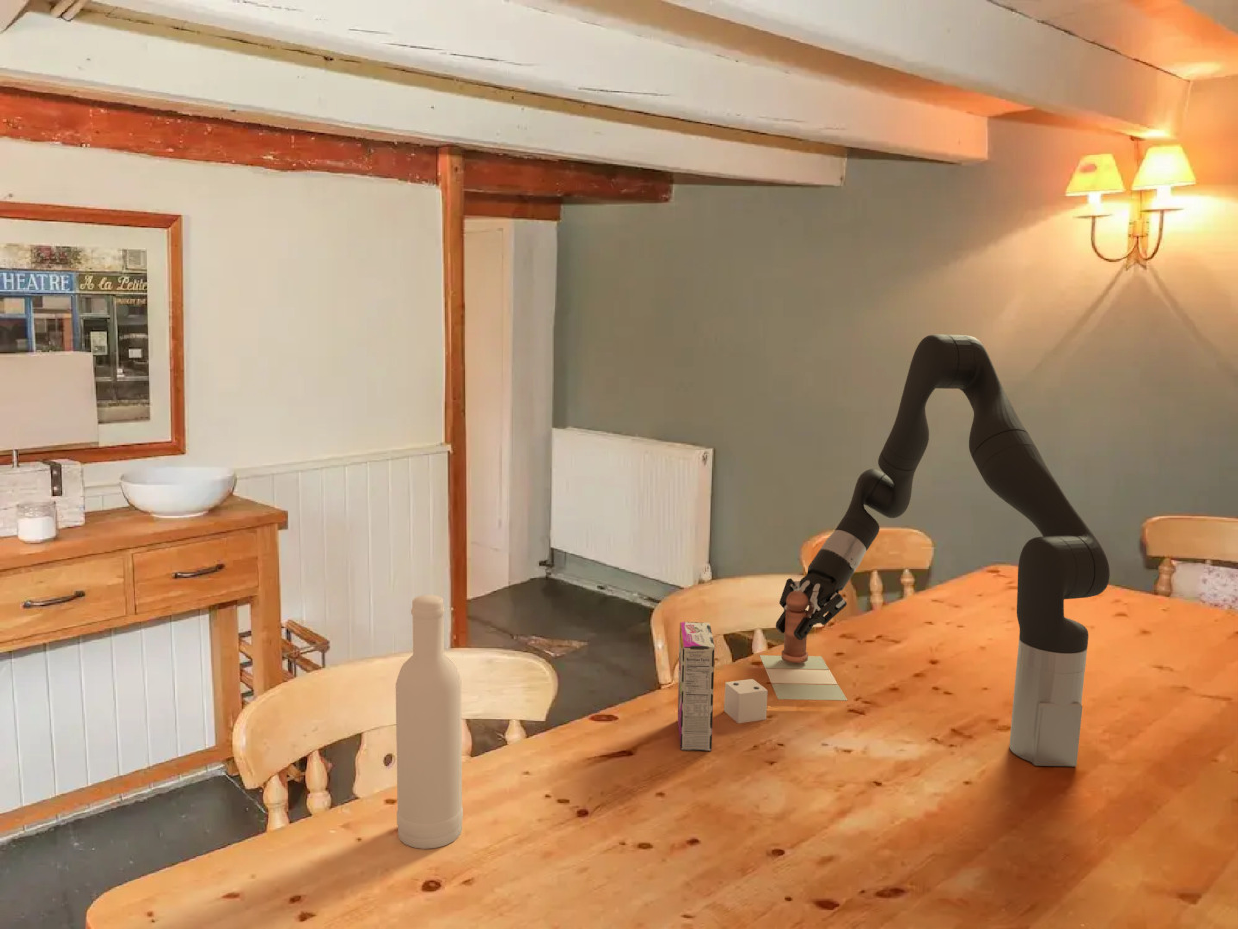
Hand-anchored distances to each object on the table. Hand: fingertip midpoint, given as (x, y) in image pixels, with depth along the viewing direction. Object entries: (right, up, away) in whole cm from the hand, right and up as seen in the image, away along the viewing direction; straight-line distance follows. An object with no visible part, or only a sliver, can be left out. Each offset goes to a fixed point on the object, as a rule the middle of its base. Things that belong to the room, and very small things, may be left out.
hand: (788, 633), depth 178 cm
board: (+1, -7, -5) cm, 9 cm away
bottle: (-54, -15, -57) cm, 80 cm away
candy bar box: (-19, -11, -28) cm, 36 cm away
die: (-10, -10, -20) cm, 25 cm away
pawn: (+1, -5, +2) cm, 5 cm away
